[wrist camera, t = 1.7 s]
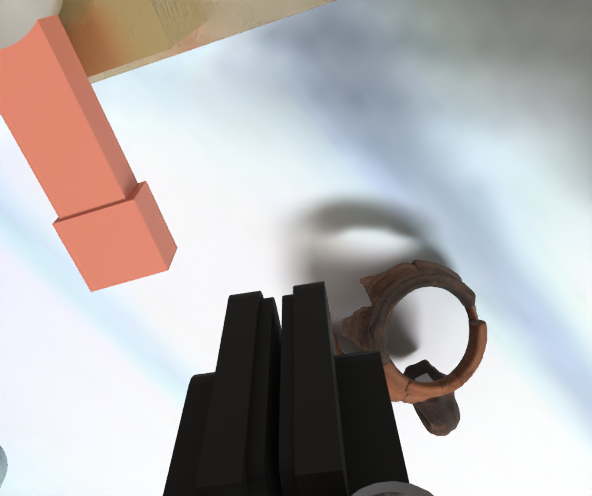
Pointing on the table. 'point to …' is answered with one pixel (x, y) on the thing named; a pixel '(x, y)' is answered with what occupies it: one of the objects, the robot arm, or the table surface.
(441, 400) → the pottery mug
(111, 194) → the lever
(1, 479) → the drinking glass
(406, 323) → the table surface
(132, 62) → the valve body
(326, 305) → the robot arm
